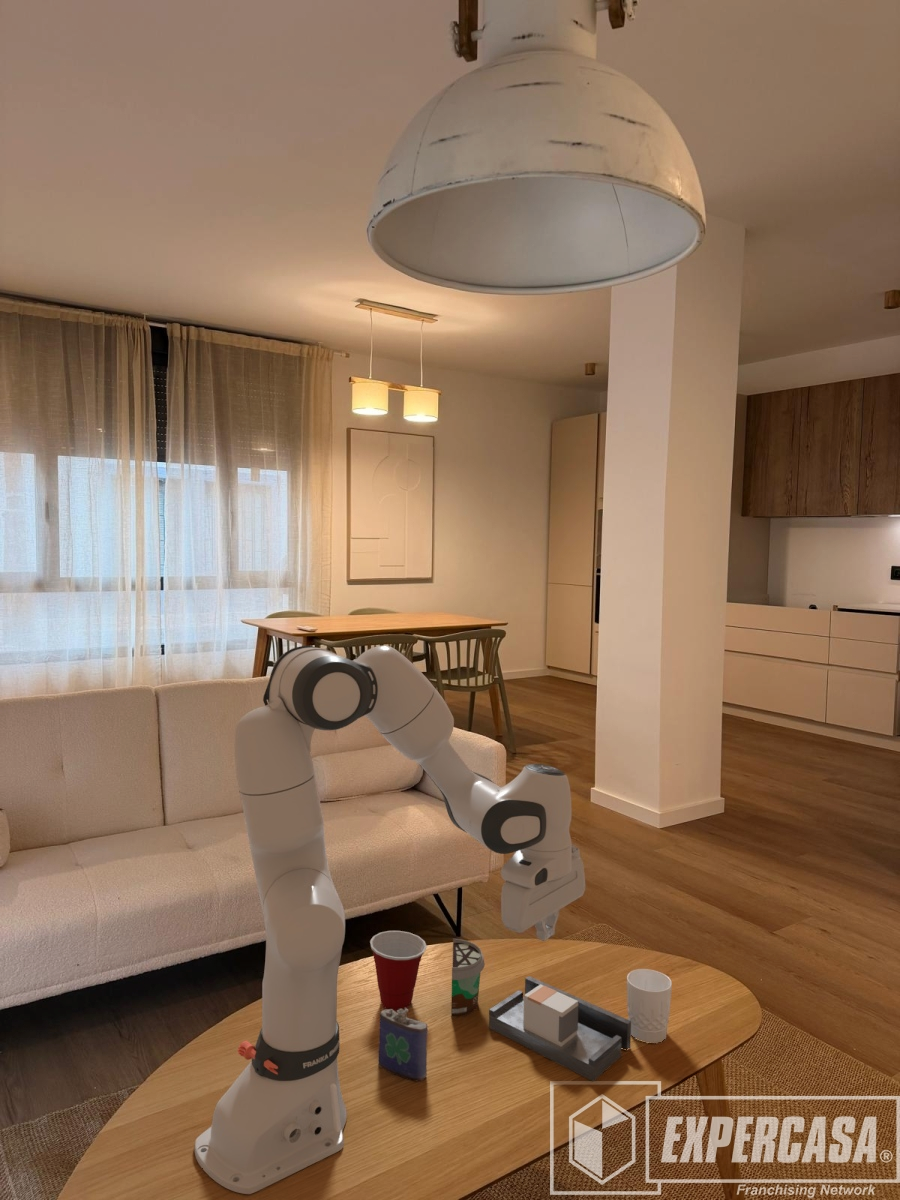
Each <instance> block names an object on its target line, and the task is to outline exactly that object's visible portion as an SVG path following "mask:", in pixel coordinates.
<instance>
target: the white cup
mask: <svg viewBox="0 0 900 1200" xmlns="http://www.w3.org/2000/svg"><path fill="white" fill-rule="evenodd" d="M672 985H673V982H672V980H671V978H670V977H669V976H668V975H666V974H664V973H663V972H660V971H657V970H655V969H650V968H637V969H633V970H631V971H630V972H629V973H628V974H627V976H626V988H627V989H626V991H627V992H626V993H627V994H626V998H627V999H626V1004H627V1016H628V1018H627V1019H628V1020H630V1021H631V1035H632V1036H634V1037H635V1038H637V1039H639V1040H642V1041H645V1042H649V1043H650V1042H651V1043H656V1044H658V1043H657V1042H661V1043H662V1041H663V1040H664V1039H665V1040H666V1039H667V1034H668V1024H669V1022H670V1021H669V1019H670V1010H671V1000H672V988H673V987H672ZM632 1036H631V1037H632ZM635 1038H634V1039H635ZM665 1040H664V1041H665ZM664 1041H663V1042H664Z"/></svg>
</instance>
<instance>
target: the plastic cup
mask: <svg viewBox="0 0 900 1200" xmlns="http://www.w3.org/2000/svg"><path fill="white" fill-rule="evenodd" d="M369 943H370V944H369V945H370V948H371V951H372V954H373V960H374V966H375V973H376V981H377V986H378V990H379V998H380V1002H381V1007H383V1008H384V1009H393V1010H394V1011H395V1012H397V1010H399V1009H403V1010H405V1008H407V1009H408V1008H409V1007H410V1006H411V1003H412V1001H413V997H414V992H415V987H416V983H417V977H418V973H419V967H420V963H421V962H422V961H421V960H422V957H423V955H425V952H426V950H427V943H426V941H425V940H424V939H423V938H422V937H420V936H419V935H417V934H413V932H412V933H411V932H409V931H403V930H402V931H401V930H387V931H386V930H385V931H382V932H378V933H377V934H375V935H373V936H372V938H371V939H370V940H369Z"/></svg>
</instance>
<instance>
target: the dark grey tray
mask: <svg viewBox="0 0 900 1200" xmlns="http://www.w3.org/2000/svg"><path fill="white" fill-rule="evenodd" d="M524 980H525V981H524V982H525V983H524V992H523V991H522V990H517V991H515V992H513V993H512V994H510V995H509V996H507V997H506V998H504V999H503V1000H501V1001H500V1002H498V1003H497V1004H495V1005H494V1006H493V1007H491V1008H489V1009H488V1011H489V1012H488V1029H490V1030H491V1031H493V1032H495V1033H498V1034H499V1035H502V1036H503V1037H506V1038H507V1039H509V1040H511V1041H513V1042H515V1043H517V1044H520V1045H522V1046H523V1047H524V1048H527V1049H528V1050H531V1051H533V1052H534V1053H537V1054H539V1055H541V1056H543V1057H544V1058H545V1059H549V1060H550V1061H553V1062H554V1063H557V1064H559V1065H560V1066H562V1067H564V1068H566V1069H568V1070H570V1071H571V1072H574V1073H576V1074H578V1075H579V1076H581V1077H584V1078H585V1079H588V1080H589V1081H592V1082H595V1081H596V1080H597V1079H598V1078H599V1077H600V1076H601V1075H603V1072H604V1071H605V1070H606V1069H607V1068H608V1067H609V1066H610V1067H612V1066H613V1065H614V1064H613V1063H614V1062H615V1061H616V1060H617V1061H618V1060H619V1059H621V1057H622V1049H621V1048H623V1049H626V1050H627V1049H628V1048H630V1049H631V1037H632V1036H631V1021H630V1020H628V1018H626V1017H624V1016H621V1015H618V1014H616V1013H614V1012H612V1011H609V1010H607V1009H605V1008H603V1007H601V1006H598V1005H596V1004H593V1003H591V1002H589V1001H587V1000H584V999H582V998H580V997H577V996H575V995H572V994H570V993H569V992H567V991H564V990H562V989H559V988H557V987H554V986H553V985H550V984H548V983H545V982H543V981H541V980H539V979H537V978H534V977H532V976H527V977H525V978H524ZM540 984H541V985H543V986H547V987H549V988H551V989H553V990H556V991H557V992H559V993H561V994H564V995H566V996H568V997H570V998H573V999H575V1000H577V1001H578V1030H577V1035H575V1036H574V1037H573V1038H572V1039H570V1040H569V1041H568V1042H567V1043H565V1044H564V1045H563V1046H562V1047H561V1046H559V1045H557V1044H555V1043H553V1042H551V1041H549V1040H547V1039H545V1038H542V1037H540V1036H538V1035H536V1034H534V1033H532V1032H530V1031H528V1030H526V1029H524V1028H523V1019H524V995H525V994H527V993H528V992H530V991H531V990H533V989H534V988H536V987H537V986H539V985H540ZM617 1061H616V1062H617ZM616 1062H615V1063H616ZM610 1067H609V1068H610ZM609 1068H608V1069H609ZM608 1069H607V1070H608ZM607 1070H606V1071H607ZM606 1071H605V1072H606Z"/></svg>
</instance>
